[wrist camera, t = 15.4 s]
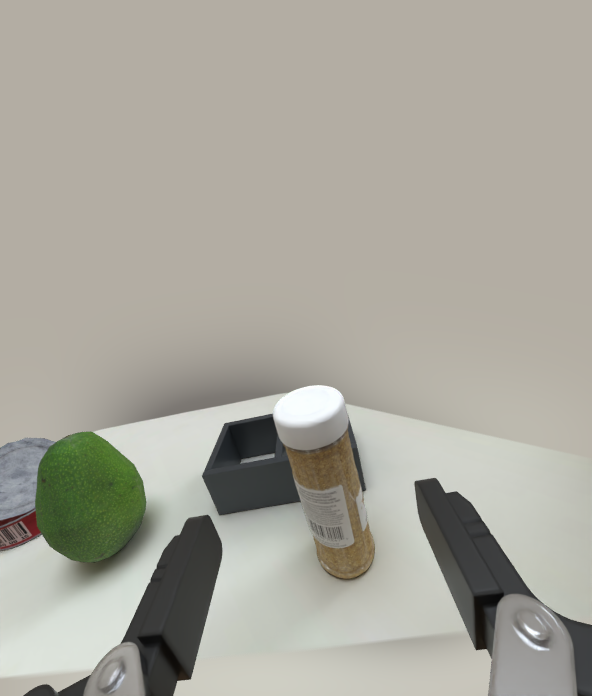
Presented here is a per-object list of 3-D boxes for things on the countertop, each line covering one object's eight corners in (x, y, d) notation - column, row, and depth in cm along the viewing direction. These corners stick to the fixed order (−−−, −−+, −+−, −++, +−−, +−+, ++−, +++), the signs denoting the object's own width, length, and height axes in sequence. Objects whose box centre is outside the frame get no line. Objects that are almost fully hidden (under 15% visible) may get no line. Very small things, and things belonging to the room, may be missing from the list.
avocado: (172, 497, 31) (125, 406, 27) (137, 574, 24) (66, 464, 20) (104, 513, 31) (48, 425, 28) (49, 593, 24) (-38, 488, 20)
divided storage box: (350, 434, 34) (343, 399, 32) (366, 490, 26) (357, 447, 25) (237, 455, 35) (224, 423, 34) (219, 515, 27) (201, 476, 26)
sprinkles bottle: (386, 540, 22) (358, 389, 17) (354, 597, 19) (310, 432, 14) (337, 512, 25) (303, 378, 20) (304, 556, 22) (256, 412, 17)
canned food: (94, 500, 41) (103, 434, 40) (69, 554, 32) (81, 469, 31) (-10, 508, 36) (-1, 433, 36) (-74, 573, 27) (-63, 474, 27)
